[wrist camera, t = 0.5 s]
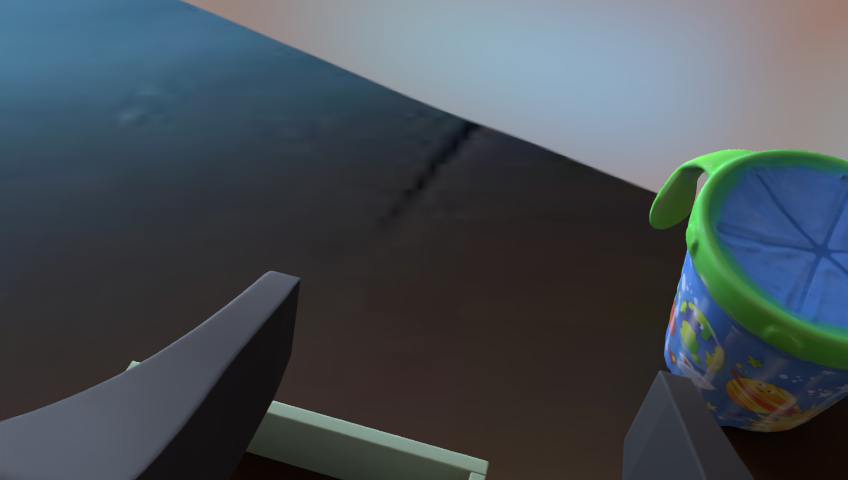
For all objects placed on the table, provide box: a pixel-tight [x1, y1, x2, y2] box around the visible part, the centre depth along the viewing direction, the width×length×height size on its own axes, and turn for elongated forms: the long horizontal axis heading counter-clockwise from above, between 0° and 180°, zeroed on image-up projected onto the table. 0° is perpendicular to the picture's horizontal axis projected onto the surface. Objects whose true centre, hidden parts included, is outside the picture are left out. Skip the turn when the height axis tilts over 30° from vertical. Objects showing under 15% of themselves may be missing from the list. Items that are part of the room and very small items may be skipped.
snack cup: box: [650, 149, 848, 432], centre depth 34 cm, size 16×10×10 cm
